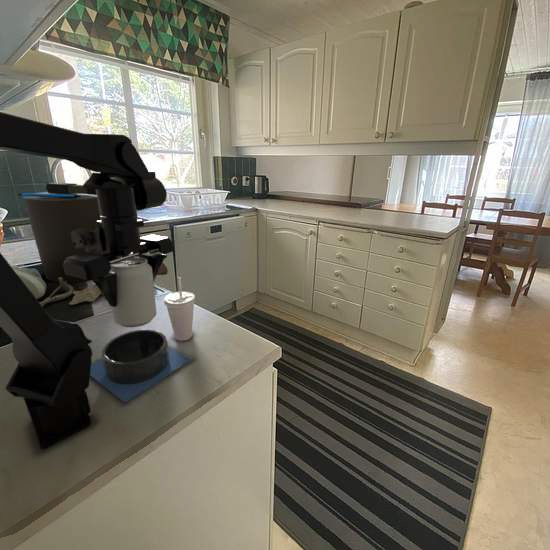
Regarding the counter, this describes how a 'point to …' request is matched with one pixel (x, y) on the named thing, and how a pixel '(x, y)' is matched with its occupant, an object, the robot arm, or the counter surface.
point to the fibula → (62, 287)
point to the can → (134, 292)
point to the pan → (135, 356)
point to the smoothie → (181, 312)
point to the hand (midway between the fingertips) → (131, 297)
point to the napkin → (132, 390)
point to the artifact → (86, 295)
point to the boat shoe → (32, 280)
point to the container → (60, 229)
